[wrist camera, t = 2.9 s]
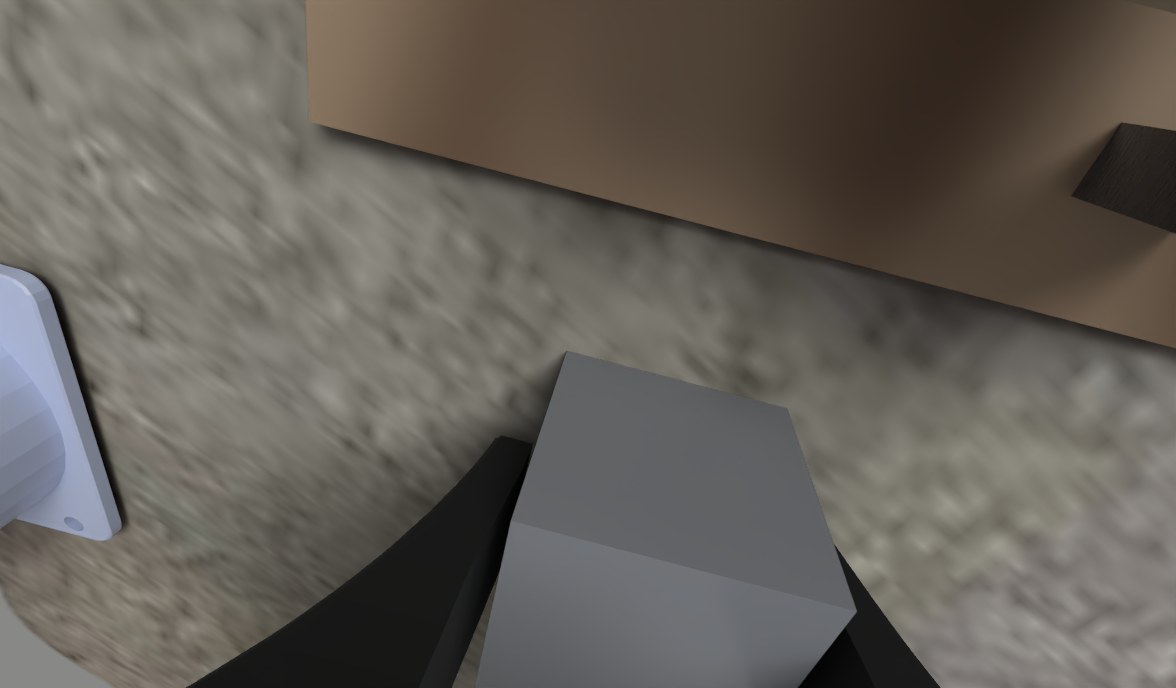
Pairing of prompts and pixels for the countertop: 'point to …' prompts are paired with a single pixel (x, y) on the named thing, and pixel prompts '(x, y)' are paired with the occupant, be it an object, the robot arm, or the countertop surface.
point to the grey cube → (663, 544)
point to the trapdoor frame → (811, 126)
